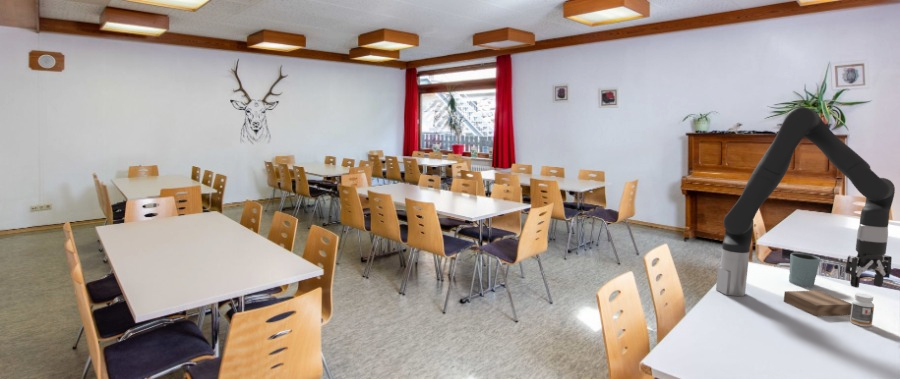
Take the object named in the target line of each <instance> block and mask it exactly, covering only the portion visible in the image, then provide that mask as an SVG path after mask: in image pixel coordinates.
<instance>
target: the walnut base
mask: <svg viewBox="0 0 900 379" xmlns="http://www.w3.org/2000/svg"><path fill="white" fill-rule="evenodd" d="M783 302H784V303H785V304H788V305H790V306H793V307H795V308H797V309H799V310H801V311H803V312H805V313H807V314H810V315H811V316H813V317H833V316H834V317H835V316H837V317H838V316H850V315H851V307H852V302H849V301H845V300H843V299H841V298H839V297H836V296H834V295H831V294H828V293H825V292H823V291H820V290H792V291H791V290H790V291H785V290H784V295H783Z"/></svg>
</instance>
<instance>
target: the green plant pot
mask: <svg viewBox="0 0 900 379" xmlns="http://www.w3.org/2000/svg"><path fill="white" fill-rule="evenodd" d="M789 257H790V258H789V259H790V260H789V276H788V282H789V283H790V284H792V285H795V286H799V287H805V288H806V287H807V288H810V287H811V288H812V287H814V286H815V282H816V278H817V273H818V269H819V265H820V263H821V262H820V261H821V258H820V257H819V256H816V255H813V254H809V253H802V252H801V253H800V252H791V253H790V256H789Z"/></svg>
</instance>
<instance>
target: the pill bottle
mask: <svg viewBox="0 0 900 379" xmlns="http://www.w3.org/2000/svg"><path fill="white" fill-rule="evenodd" d="M873 300H874V296H872V295H870V294H867V293H861V292H860V293H859V292H857V293H854V299H853V300H852V301H851V304H852V307H851V315H849V316H850V317H849V321H850V323H852V324H853V325H856V326H860V327H865V328H866V327H867V328H869V327H871V326H872V325H873V318H874V311H875V310H874V308H875V304H874V303H873Z"/></svg>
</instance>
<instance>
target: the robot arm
mask: <svg viewBox="0 0 900 379" xmlns="http://www.w3.org/2000/svg"><path fill="white" fill-rule="evenodd" d="M804 138H806V139H807V140H808V141H810V142H811V143H812V144H813V145H815V146H816V147H817V148H818V149H819V150H820V151H821V152H822V153H823V155H825V157H826V158H827V159H828V160H829V162H830V163H831V164H832V165H833V166H834V167H835V168H836V169H837V170H839V172H840V173H842V174H843V175H844V176H845V177H846V178H848V180H849V181H850V182H851V184H852V185H853V186H854V188H856V190H857V192H859V193H860V194H861V195H862V196H863V197H864V198H865V204H864V206H863V208H862V209H861V211H860V217H859V224H858V228H857V234H856V243H855V251H856V252H857V255H856V256H854V255H848V256H847V260H846V264H845V270H844V272H845V274H848V275H850V286H851V287H853V288H857V289H858V288H859V287H860V282H861V281H860V280H861V275H862V274H863V273H865V272H866V271H867V270H873V272H874V273H875V274H874V278H873V285H874V286H875V287H879V288H880V287H883V283H884V278H885V276H886V275H890V274H891V273H892V272H891V271H892V259H893V258H892V256H889V255H886V253H887V246H888V245H887V244H888V238H889V223H890V222H889V221H890V211H891V208H892V205H893V202H894V198H895V193H896V187H895V185H894V183H893V181H892V180H890V179H889V178H885V177H880V176H878V175H877V174H876V172H874V171H873V170H872V169H871V165H870V164H869V163H868V162H867V161H866V160H864V158H862V157H861V155H859V154H858V153H857V152H856V151H855V150H853V149H852V148H851V147H850V146H848V145H847V144H846V143H845V142H844V141H842V140H841V139H840V138H839V137H837V135H836V134H834V132H832V130H831V129H830V128H829V127H828V126H827V124H826V123H825V122H824V120H823V119H822V118H821V117H820V115H819V113H818V112H817V111H815V110H813V109H811V108H808V107H804V106H801V107H795V108H794V109H792V110H790V111H789V112H788V113H787V114H786V116H785V117H784V119H783V121H782V123H781V126H780V127H779V130H778V131H777V134H776V136H775V137H774V139H773V141H772V142H771V144H770V145H769V147H768V148H767V150H766V151H765V153H764V155H763V156H762V157H761V159H760V160H759V161H758V163H757V165H756V166H755V168H754V170H753V171H752V173H751V175H750V176H749V179H748V181H747V182H746V185H745V186H744V188H743V190H742V193H741V195H740V197H739V198H738V200H737V201H736V203H735V204H734V205H733V206H732V207H731V208H730V210H729V211H728V213H727V214H726V215H725V216H724V218H723V227H724V228H725V229H724V230H725V231H724V238H723V241H722V244H721V245H722V246H721V248H722V249H721V258H720V259H721V260H720V266H718V267H717V272H716V273H717V274H716V286H715V290H716V291H718V292H719V293H722V294H723V295H726V296H732V297H733V296H735V297H742V296H745V295H746V288H747V278H748V269H749V259H750V252H751V244H752V239H753V231H754V230H753V229H754V219H755V217H756V215H757V213H758V211H759V210H760V207H761V206H762V205H763V204H764V202H766V200H767V199H768V198H769V197H770V196H771V195H772V194H773V193H774V191H775V190H776V188H777V187H778V186H779V184H780V183H781V181H782V180H783V179H784V177H785V176H786V174H787V171H788V170H789V167H790V164H791V162H792V158H793V155H794V153H795V150H796V148H797V147H798V145H799V144H800V142H801V141H802V140H803V139H804Z"/></svg>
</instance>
